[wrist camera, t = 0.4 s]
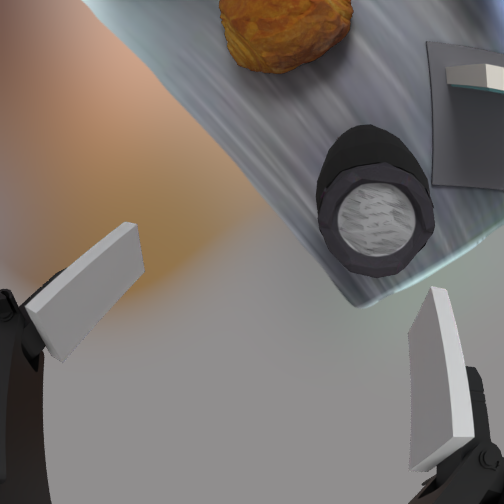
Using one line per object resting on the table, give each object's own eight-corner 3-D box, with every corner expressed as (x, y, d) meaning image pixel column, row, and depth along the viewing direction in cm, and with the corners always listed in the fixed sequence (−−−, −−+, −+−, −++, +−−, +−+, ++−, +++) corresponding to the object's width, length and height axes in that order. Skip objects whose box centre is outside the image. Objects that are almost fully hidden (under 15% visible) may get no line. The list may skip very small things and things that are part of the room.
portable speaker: (316, 142, 35) (280, 199, 19) (383, 107, 30) (416, 132, 15) (350, 201, 38) (341, 299, 22) (415, 171, 33) (462, 253, 17)
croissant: (369, 37, 28) (384, 24, 21) (259, 93, 34) (247, 92, 27) (303, -48, 23) (301, -76, 17) (198, 8, 29) (173, -8, 22)
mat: (425, 41, 24) (426, 41, 24) (523, 60, 20) (524, 60, 19) (431, 183, 33) (432, 184, 32) (520, 190, 28) (522, 192, 28)
